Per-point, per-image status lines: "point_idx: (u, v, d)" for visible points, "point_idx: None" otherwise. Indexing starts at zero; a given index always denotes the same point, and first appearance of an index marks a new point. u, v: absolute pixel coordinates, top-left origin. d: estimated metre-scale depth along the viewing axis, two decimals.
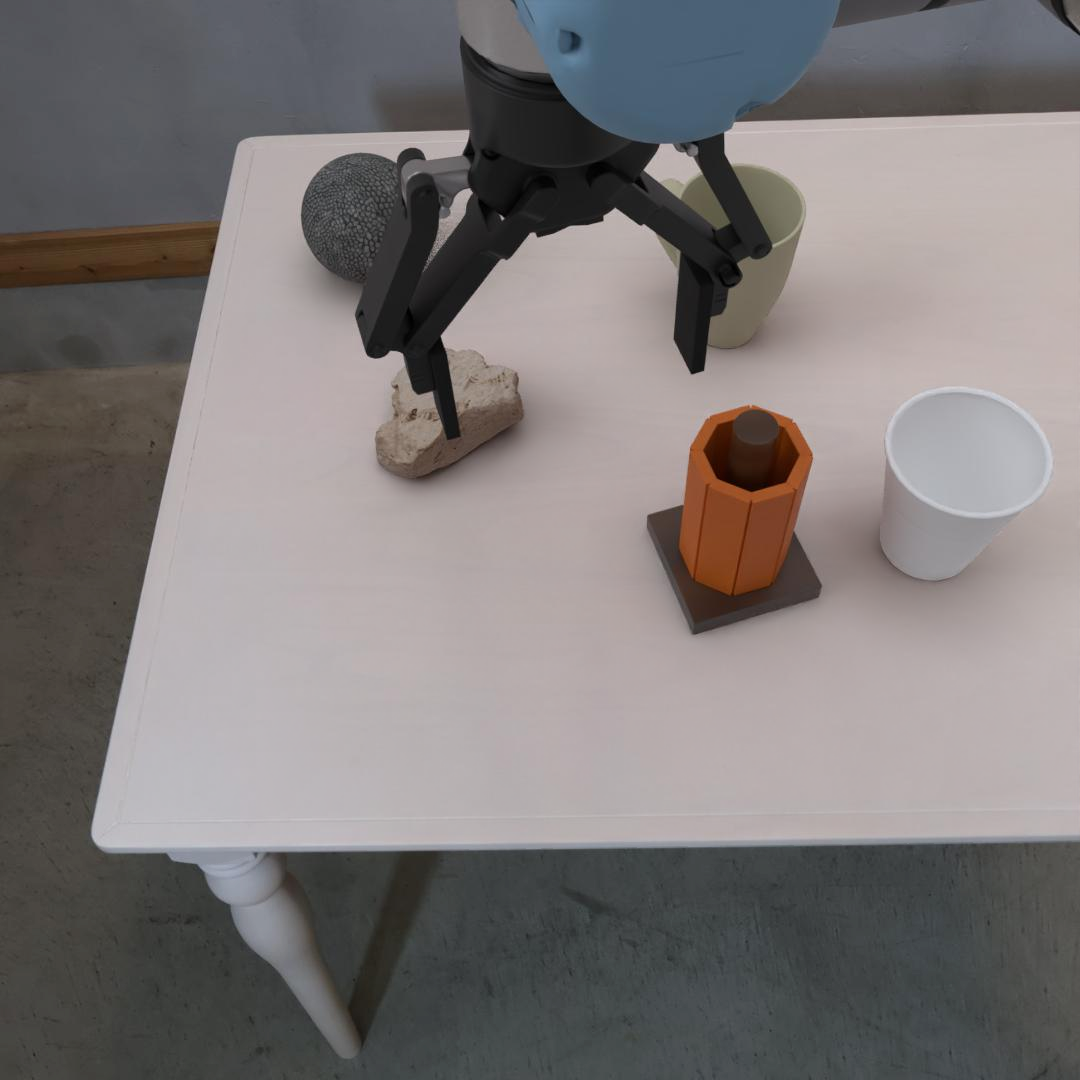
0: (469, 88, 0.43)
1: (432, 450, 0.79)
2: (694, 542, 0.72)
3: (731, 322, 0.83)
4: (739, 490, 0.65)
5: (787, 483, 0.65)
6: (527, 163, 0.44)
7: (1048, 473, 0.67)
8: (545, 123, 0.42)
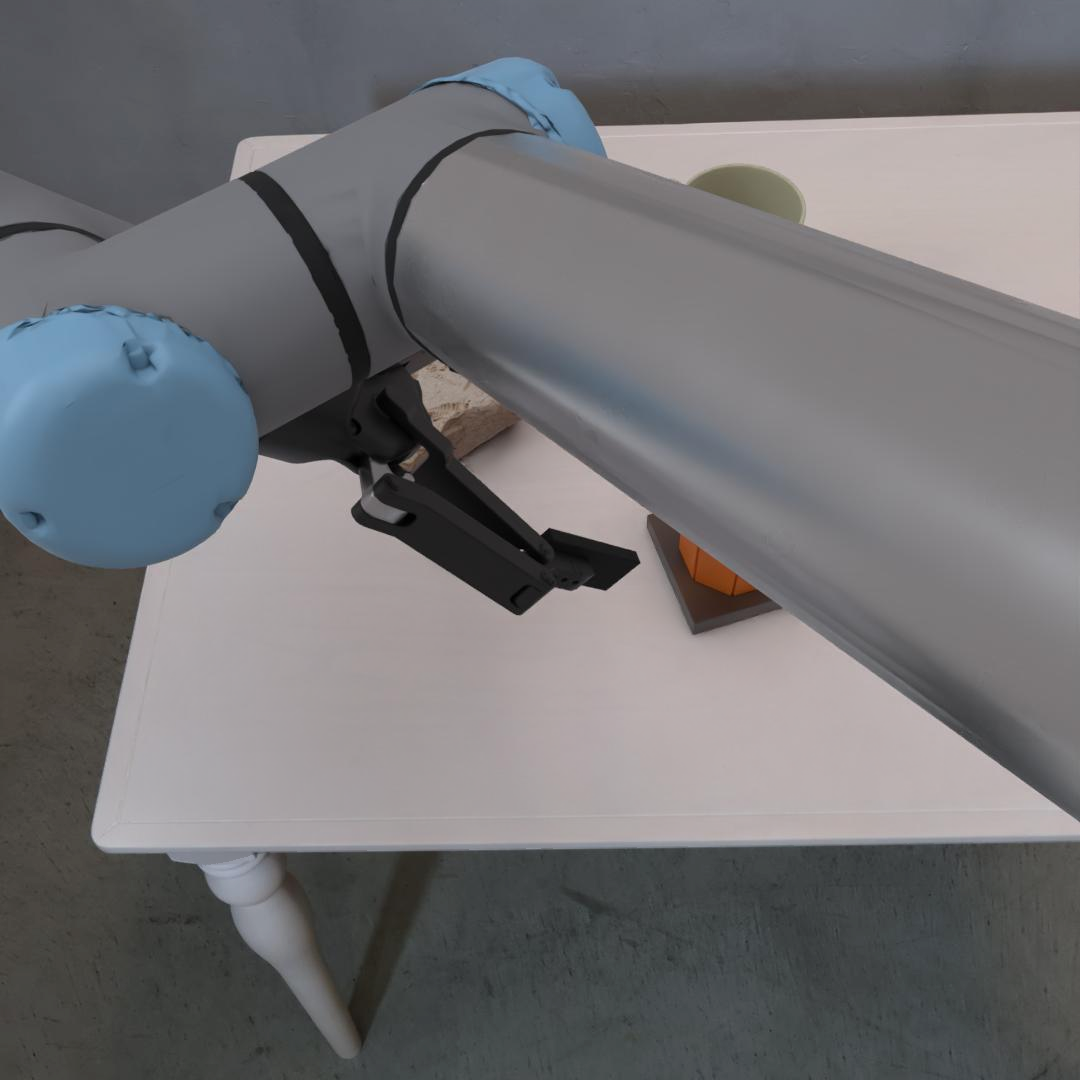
0: (296, 428, 0.47)
1: None
2: None
3: None
4: None
5: None
6: None
7: None
8: None
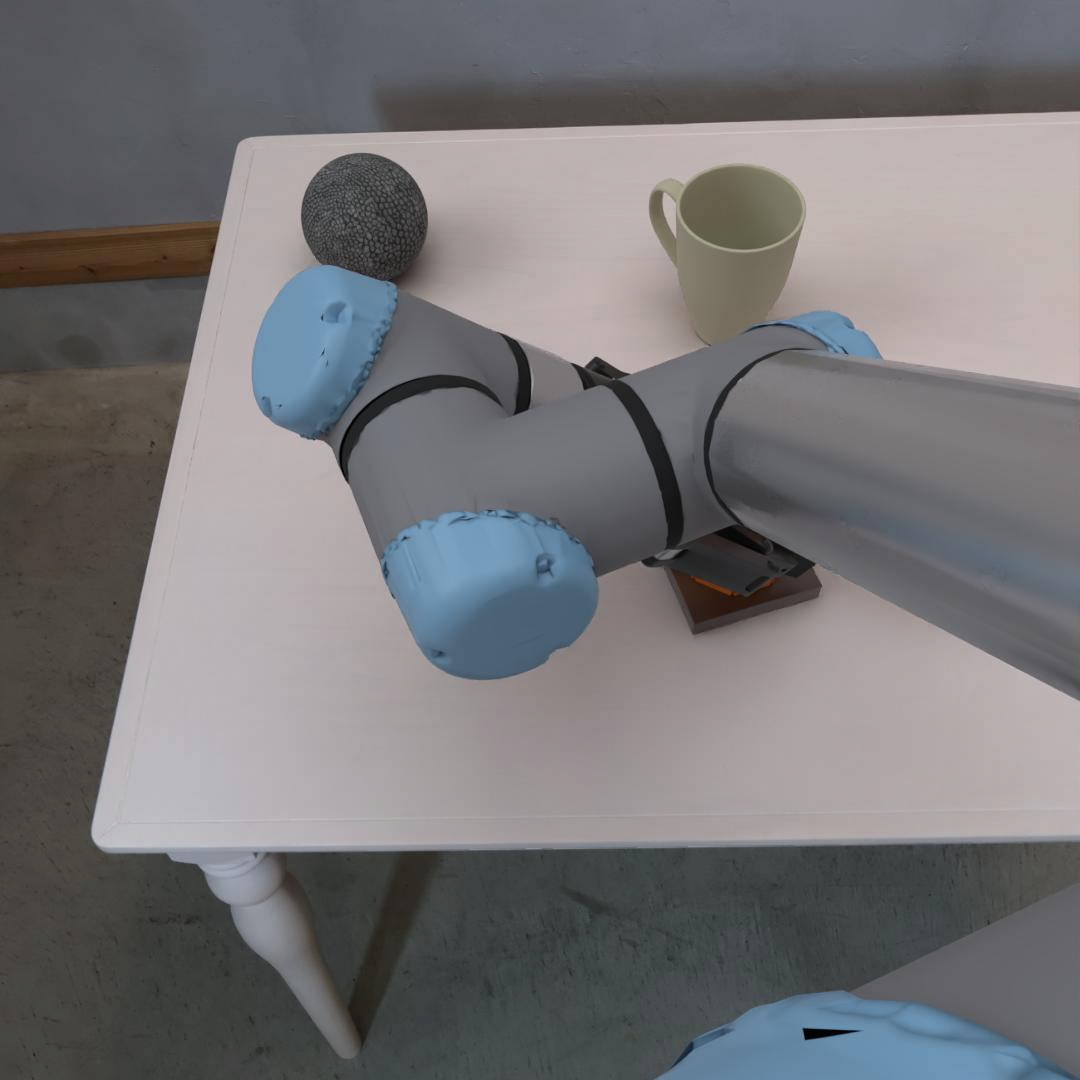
0: None
1: None
2: None
3: (731, 322, 0.83)
4: None
5: None
6: None
7: None
8: None
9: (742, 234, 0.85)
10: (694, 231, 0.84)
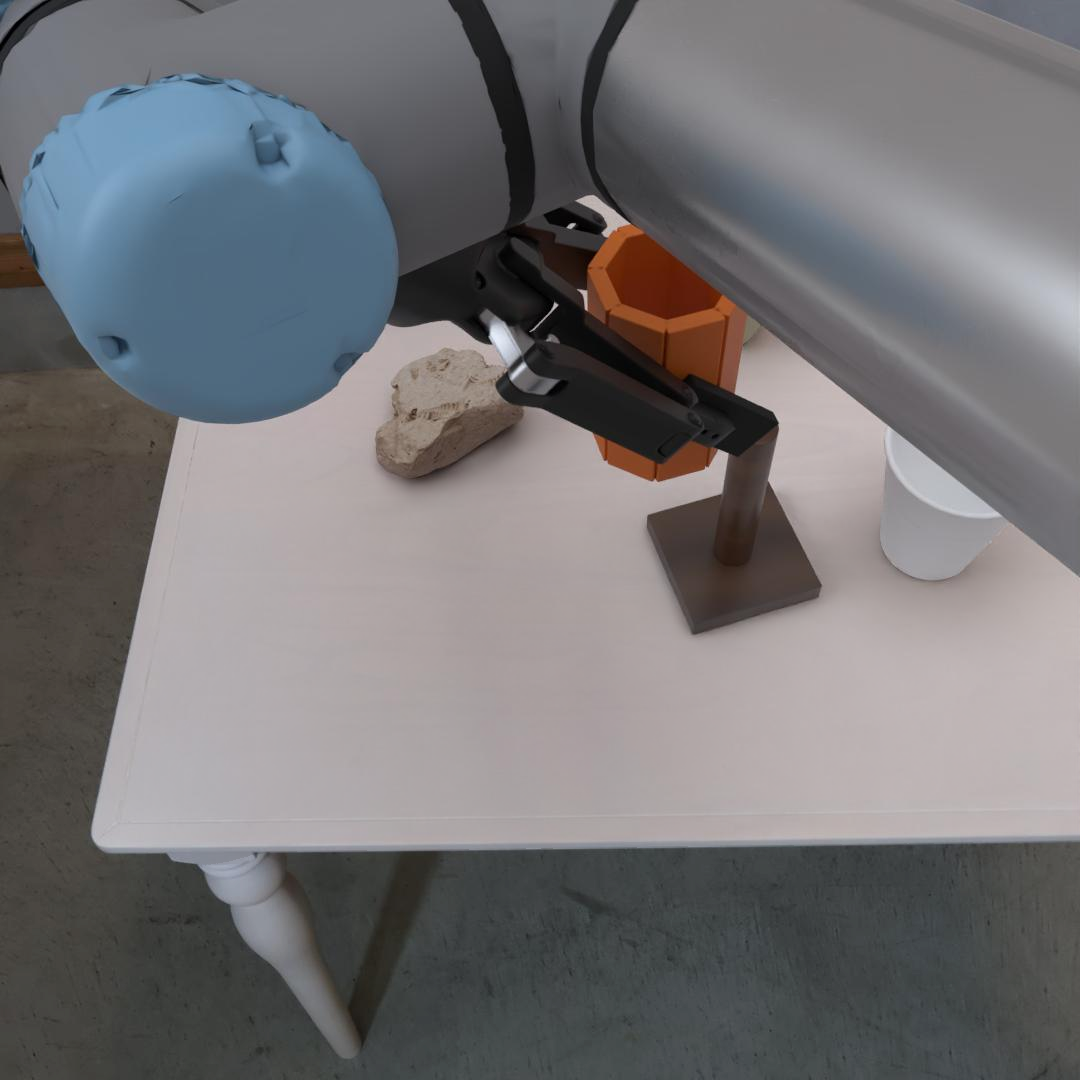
0: (415, 274, 0.40)
1: (432, 450, 0.79)
2: None
3: None
4: (650, 317, 0.48)
5: (716, 308, 0.48)
6: None
7: None
8: None
9: None
10: None
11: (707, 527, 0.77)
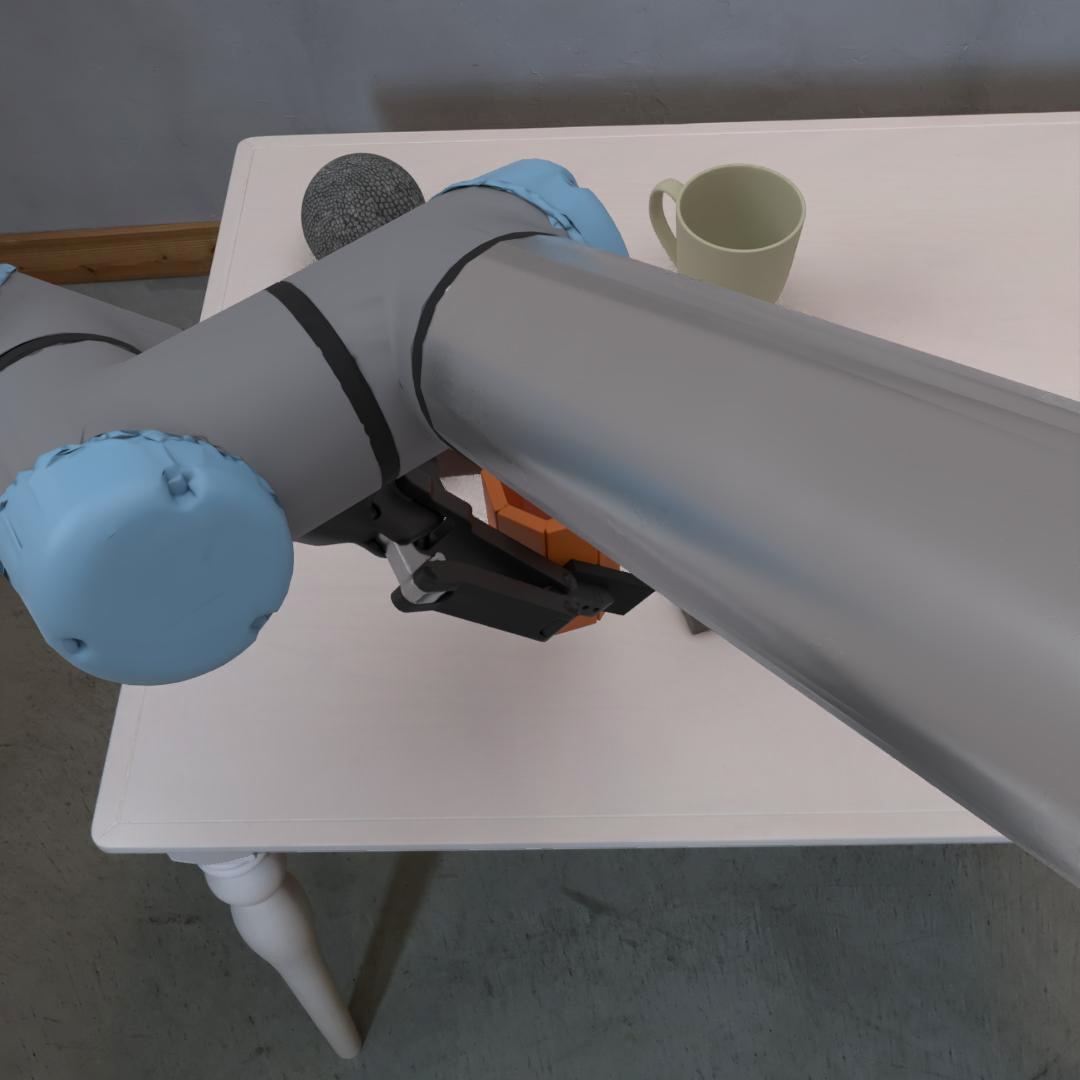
0: None
1: None
2: None
3: None
4: (532, 518, 0.56)
5: None
6: None
7: None
8: None
9: (742, 234, 0.85)
10: (694, 231, 0.84)
11: None
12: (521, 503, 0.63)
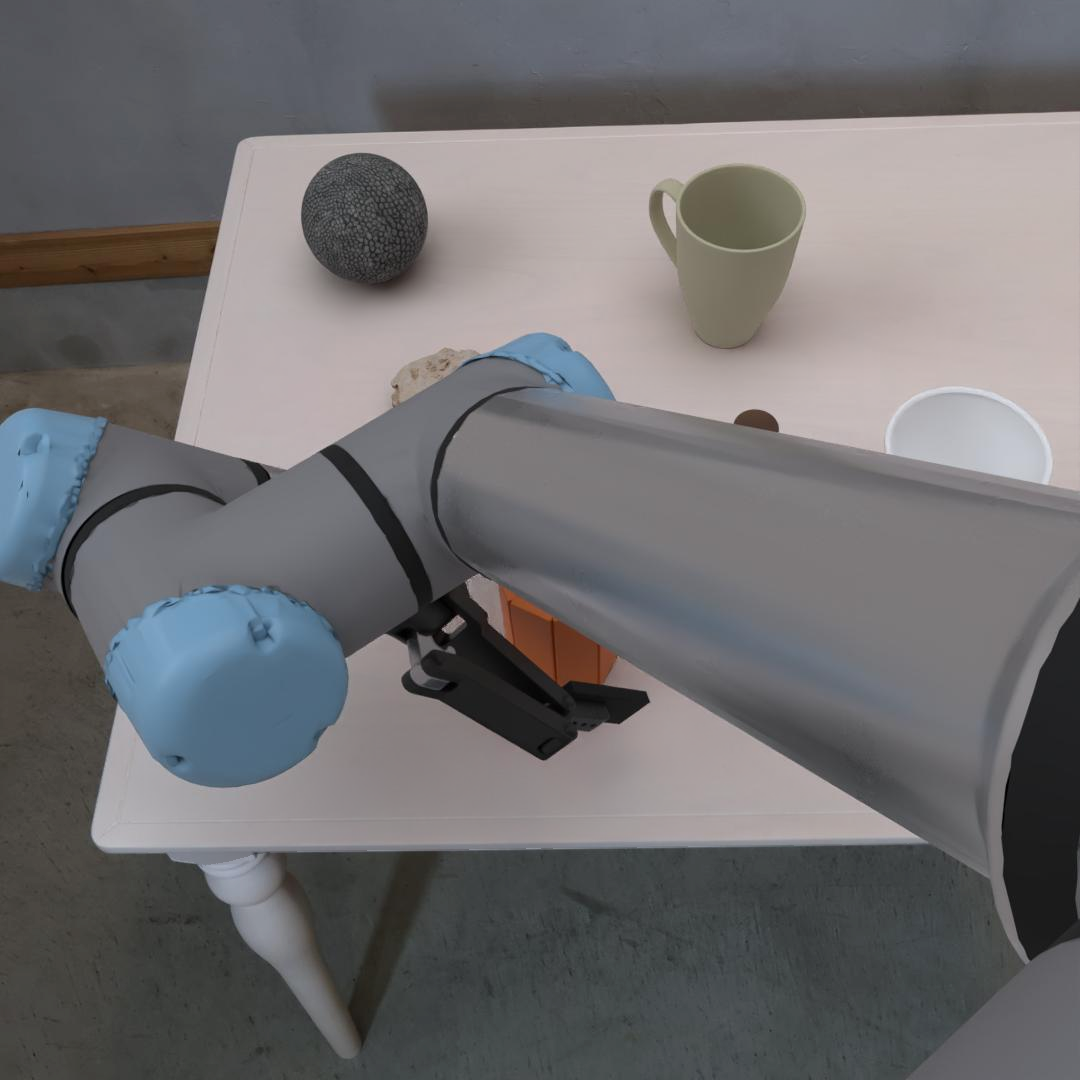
0: None
1: None
2: None
3: (731, 322, 0.83)
4: None
5: None
6: None
7: (1048, 473, 0.67)
8: None
9: (742, 234, 0.85)
10: (694, 231, 0.84)
11: None
12: None
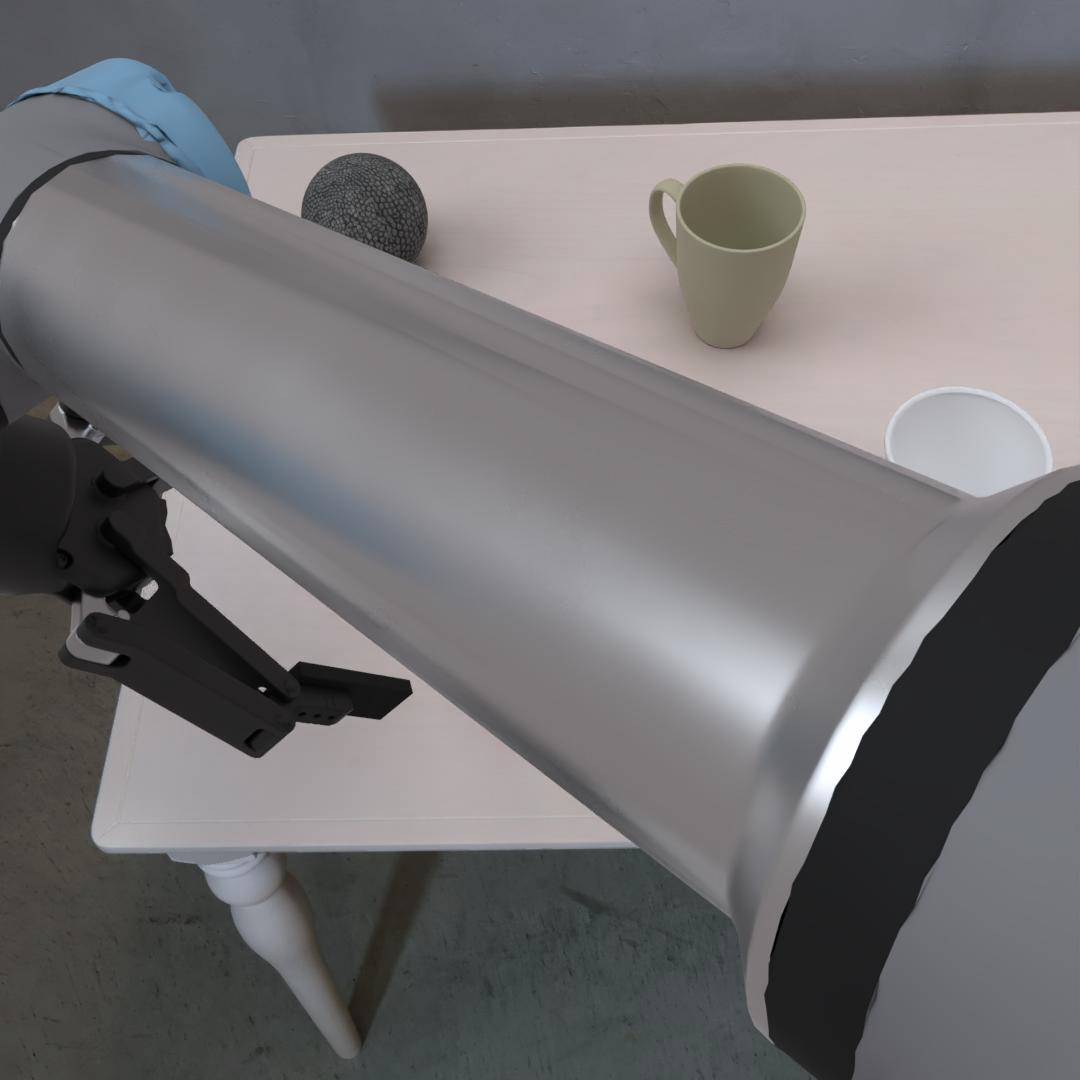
0: None
1: None
2: None
3: (731, 322, 0.83)
4: None
5: None
6: (67, 510, 0.45)
7: None
8: (21, 478, 0.43)
9: (742, 234, 0.85)
10: (694, 231, 0.84)
11: None
12: None
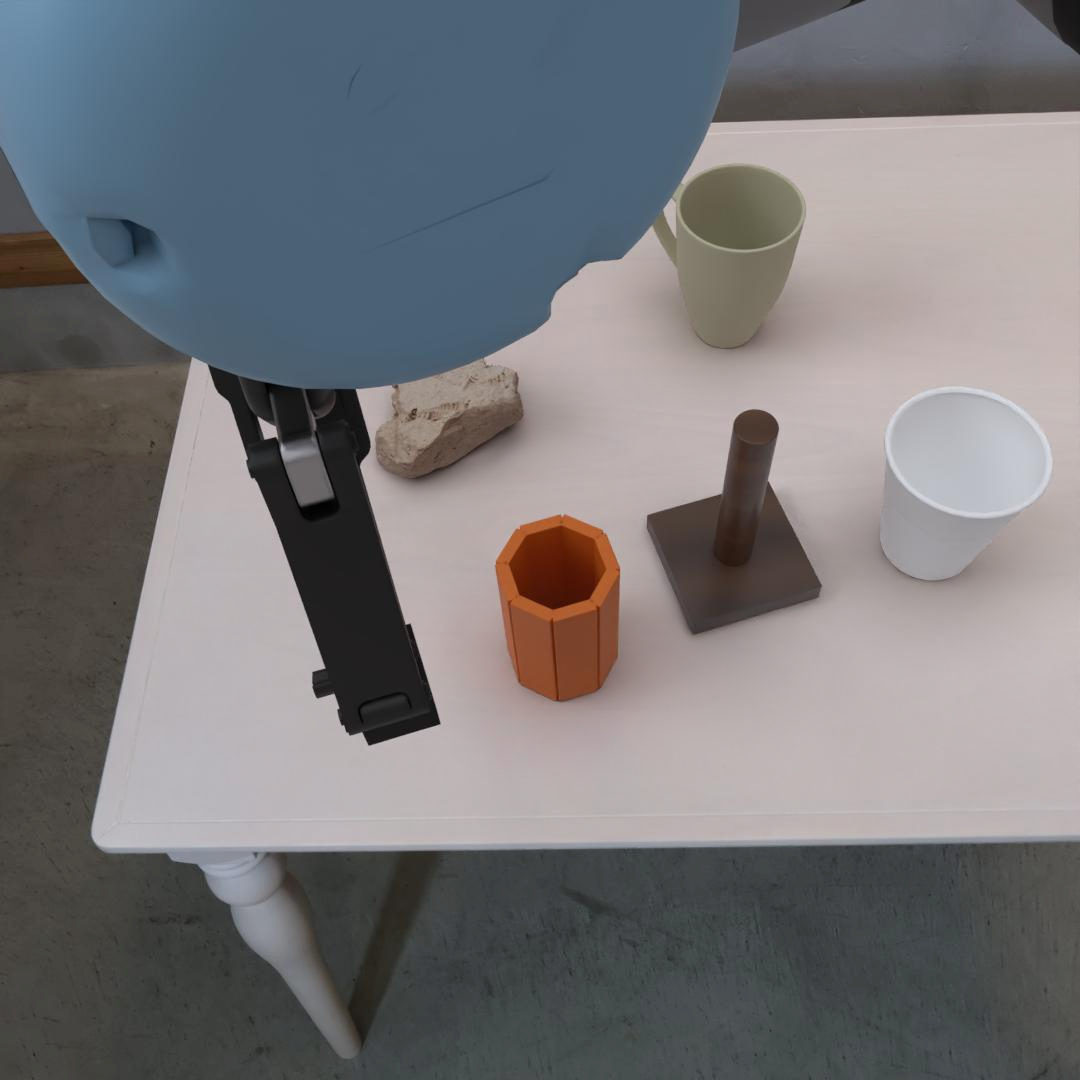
0: None
1: (432, 450, 0.79)
2: (513, 650, 0.70)
3: (731, 322, 0.83)
4: (540, 607, 0.63)
5: (590, 600, 0.64)
6: None
7: (1048, 473, 0.67)
8: None
9: (742, 234, 0.85)
10: (694, 231, 0.84)
11: (707, 527, 0.77)
12: (530, 586, 0.71)
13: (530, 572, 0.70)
